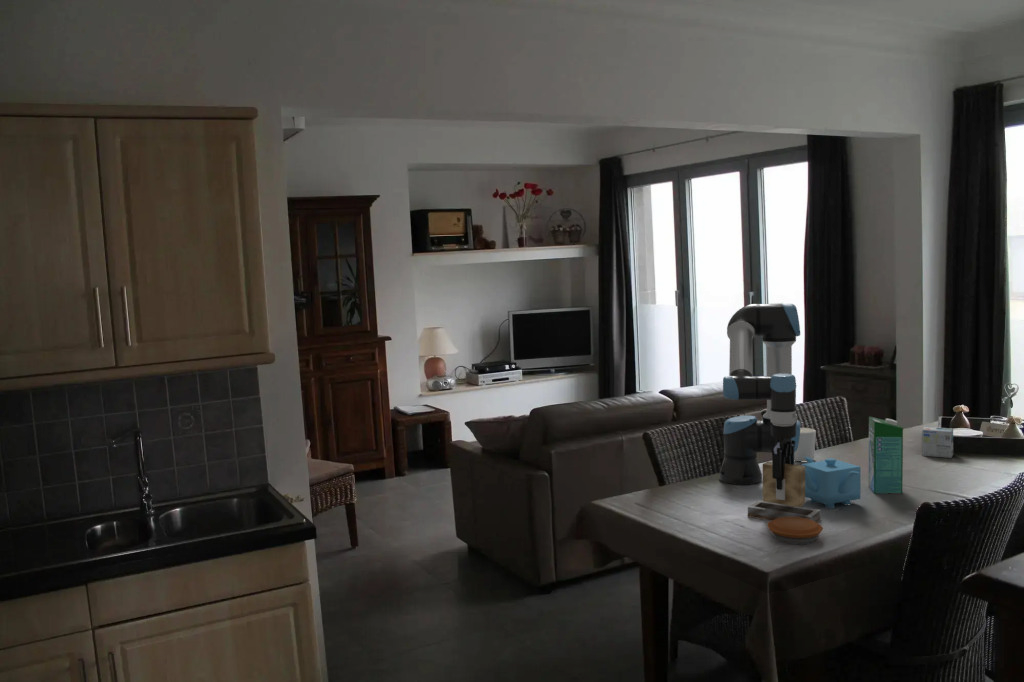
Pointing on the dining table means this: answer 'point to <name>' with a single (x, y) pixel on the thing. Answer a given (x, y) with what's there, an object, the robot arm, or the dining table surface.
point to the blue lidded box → (832, 481)
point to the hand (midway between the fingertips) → (783, 497)
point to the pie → (795, 530)
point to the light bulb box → (937, 442)
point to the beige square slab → (793, 485)
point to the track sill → (781, 511)
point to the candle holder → (805, 444)
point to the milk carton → (885, 456)
